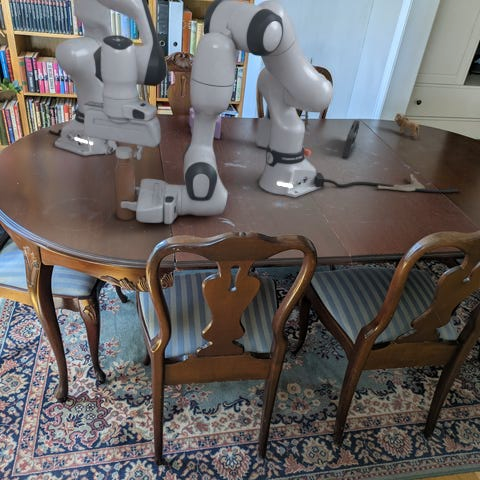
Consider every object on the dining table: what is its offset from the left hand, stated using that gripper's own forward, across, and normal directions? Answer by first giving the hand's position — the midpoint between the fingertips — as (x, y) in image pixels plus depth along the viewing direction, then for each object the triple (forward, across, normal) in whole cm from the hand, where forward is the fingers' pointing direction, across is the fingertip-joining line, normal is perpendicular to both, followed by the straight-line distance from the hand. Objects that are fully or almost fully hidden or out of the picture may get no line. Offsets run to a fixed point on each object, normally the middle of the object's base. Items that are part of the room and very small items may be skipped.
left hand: (123, 156), depth 126 cm
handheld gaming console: (+18, +66, +82) cm, 106 cm away
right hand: (+13, -1, 0) cm, 13 cm away
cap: (-2, 0, 0) cm, 2 cm away
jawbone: (+18, +83, +53) cm, 100 cm away
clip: (+18, +3, +78) cm, 80 cm away
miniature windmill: (+18, +42, +104) cm, 113 cm away
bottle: (+18, 0, 0) cm, 18 cm away
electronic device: (+18, +34, +70) cm, 80 cm away
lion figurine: (+18, +92, +113) cm, 147 cm away
